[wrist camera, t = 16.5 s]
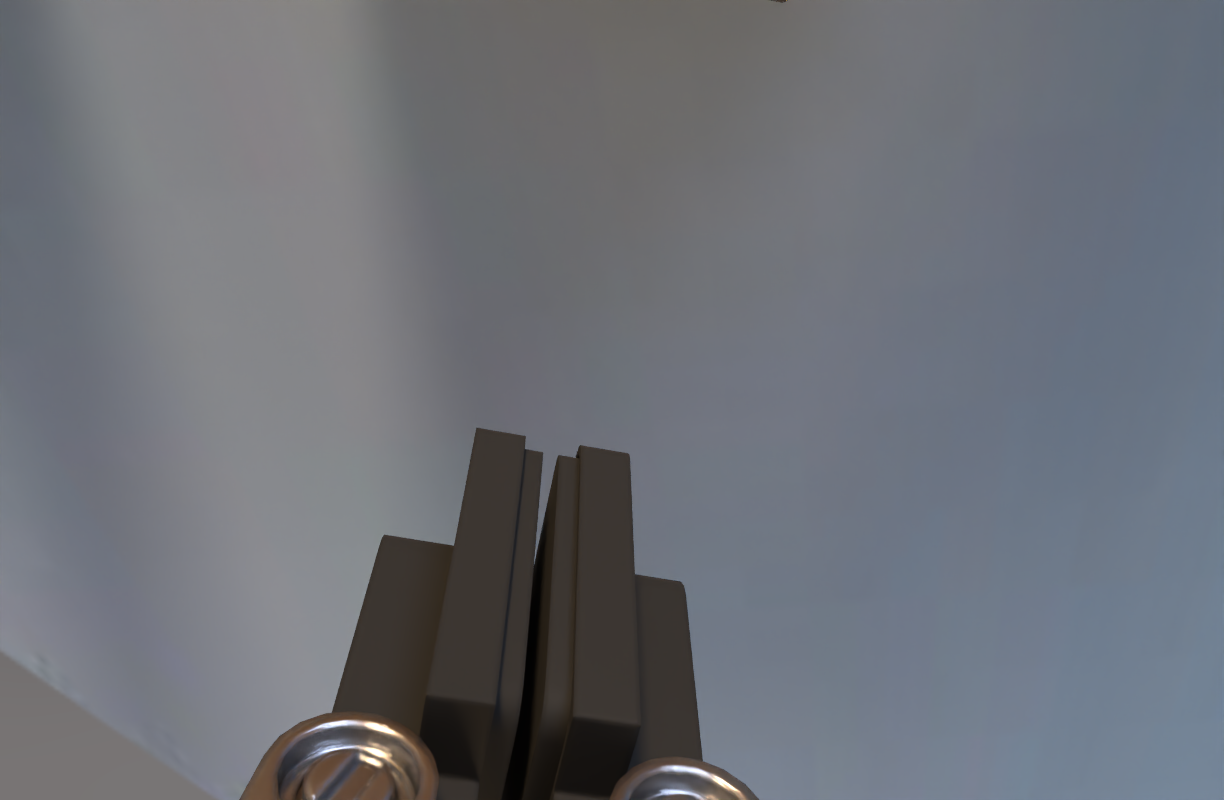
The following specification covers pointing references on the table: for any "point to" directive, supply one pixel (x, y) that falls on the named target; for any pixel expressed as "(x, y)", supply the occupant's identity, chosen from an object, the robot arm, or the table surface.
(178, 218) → the table surface
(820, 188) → the table surface
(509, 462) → the robot arm
